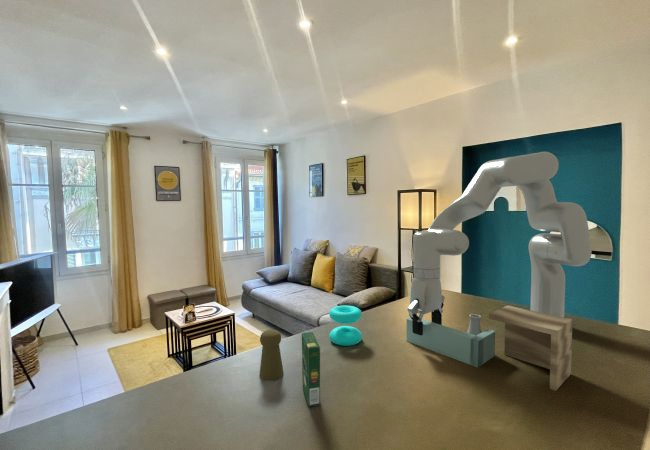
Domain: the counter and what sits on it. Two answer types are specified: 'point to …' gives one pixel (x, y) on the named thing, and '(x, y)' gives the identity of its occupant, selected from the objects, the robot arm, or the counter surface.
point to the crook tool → (454, 342)
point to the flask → (474, 324)
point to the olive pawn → (271, 356)
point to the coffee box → (311, 368)
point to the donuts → (345, 333)
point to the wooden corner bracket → (538, 340)
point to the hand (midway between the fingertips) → (427, 329)
